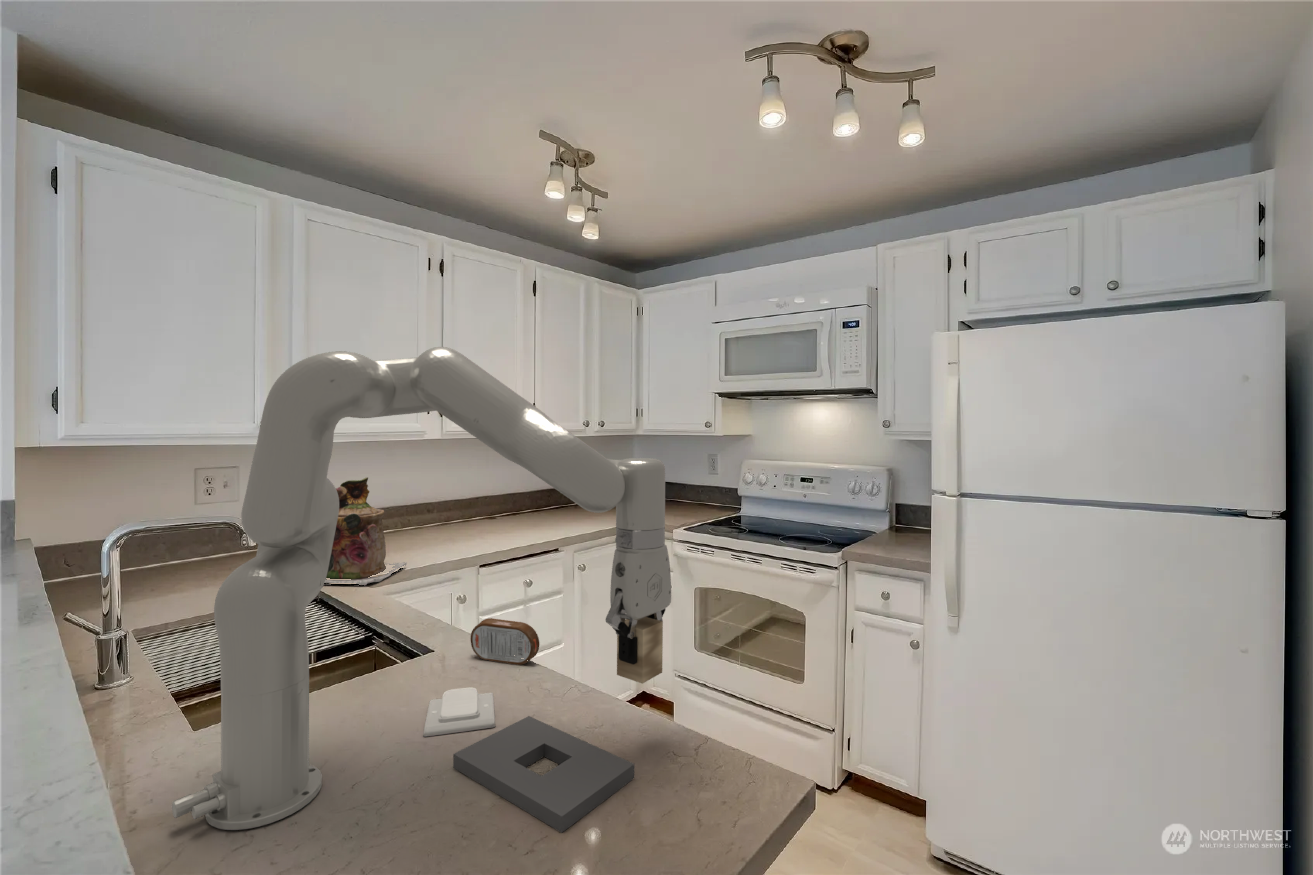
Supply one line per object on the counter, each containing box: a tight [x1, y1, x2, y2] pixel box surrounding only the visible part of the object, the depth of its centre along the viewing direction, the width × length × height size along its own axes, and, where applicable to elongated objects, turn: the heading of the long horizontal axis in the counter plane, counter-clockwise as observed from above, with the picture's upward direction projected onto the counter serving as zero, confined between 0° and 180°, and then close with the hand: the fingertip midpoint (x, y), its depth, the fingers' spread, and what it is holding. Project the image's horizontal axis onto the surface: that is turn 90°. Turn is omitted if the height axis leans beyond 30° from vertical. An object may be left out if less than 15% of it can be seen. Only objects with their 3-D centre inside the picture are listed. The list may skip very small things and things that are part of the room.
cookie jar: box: [325, 476, 408, 586], centre depth 188 cm, size 25×25×32 cm
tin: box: [470, 617, 541, 666], centre depth 122 cm, size 15×3×8 cm, turn 74°
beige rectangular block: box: [616, 617, 664, 684], centre depth 90 cm, size 5×5×8 cm
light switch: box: [423, 686, 496, 737], centre depth 99 cm, size 11×4×13 cm
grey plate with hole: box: [452, 715, 636, 834], centre depth 83 cm, size 14×22×2 cm, turn 53°
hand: (639, 654), depth 90 cm, fingers closed on beige rectangular block, 5 cm apart
